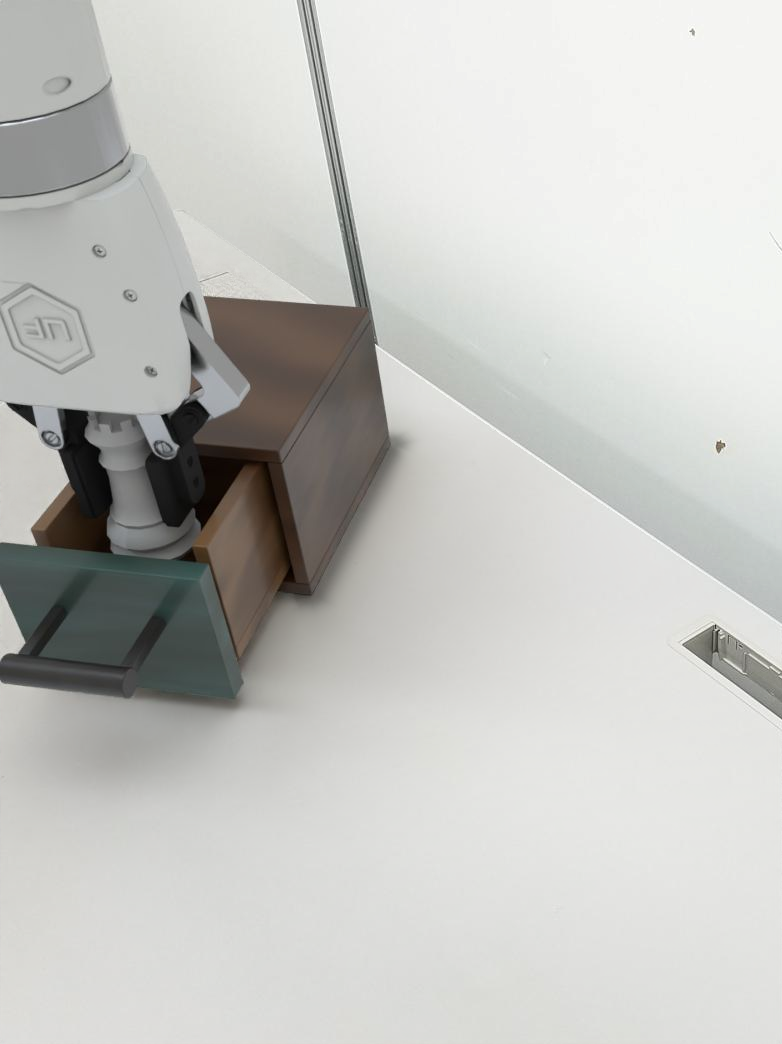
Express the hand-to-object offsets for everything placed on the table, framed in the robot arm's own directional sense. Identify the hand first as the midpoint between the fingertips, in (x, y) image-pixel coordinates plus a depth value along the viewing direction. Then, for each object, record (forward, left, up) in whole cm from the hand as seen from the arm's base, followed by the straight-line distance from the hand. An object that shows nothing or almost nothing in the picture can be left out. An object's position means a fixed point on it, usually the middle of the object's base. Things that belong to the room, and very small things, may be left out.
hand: (144, 502), depth 62 cm
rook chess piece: (0, 0, -3) cm, 3 cm away
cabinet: (0, +11, -8) cm, 14 cm away
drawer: (0, -1, -7) cm, 8 cm away
